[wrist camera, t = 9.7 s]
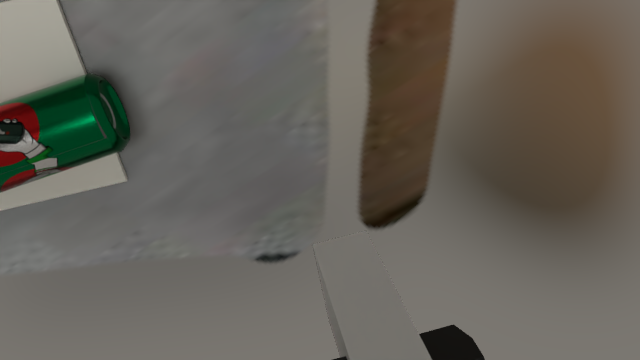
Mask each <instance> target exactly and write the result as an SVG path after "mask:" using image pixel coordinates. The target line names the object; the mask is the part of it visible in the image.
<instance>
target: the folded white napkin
mask: <svg viewBox="0 0 640 360" xmlns="http://www.w3.org/2000/svg"><path fill="white" fill-rule="evenodd" d="M84 74H87V72H86V69H85V67H84V64H83V62H82V59H81V57H80V54H79V51H78V49H77V46H76V44H75V41H74V39H73V36H72V34H71V31H70V28H69V26H68V23H67V21H66V18H65V16H64V13H63V10H62V8H61V5H60V3H59V0H8V1H3V2H0V103H2V102H5V101H7V100H10V99H13V98H16V97H19V96H22V95H25V94H28V93H31V92H34V91H37V90H40V89H43V88H46V87H49V86H52V85H55V84H58V83H61V82H64V81H67V80H70V79H73V78H76V77H79V76H82V75H84ZM127 179H128V177H127V175H126V172H125V170H124V167H123V165H122V162H121V159H120V157H119V154H118V153H115V154H112V155H109V156H106V157H103V158H101V159H98V160H95V161H92V162H89V163H86V164H83V165H80V166H77V167H74V168H71V169H68V170H65V171H63V172H60V173H57V174H54V175H51V176H48V177H45V178H42V179H39V180H36V181H33V182H30V183H28V184H25V185H22V186H19V187H16V188H13V189H10V190H7V191H4V192H1V193H0V211H2V210H6V209H10V208H15V207H19V206H23V205H27V204H32V203H36V202H40V201H44V200H49V199H53V198H57V197H62V196H66V195H70V194H74V193H79V192H83V191H87V190H91V189H96V188H100V187H104V186H109V185H113V184H117V183H121V182H126V181H127Z"/></svg>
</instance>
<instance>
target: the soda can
mask: <svg viewBox="0 0 640 360" xmlns="http://www.w3.org/2000/svg"><path fill="white" fill-rule="evenodd" d="M129 140H130V127H129V122H128V119H127V115H126V112H125V110H124V107H123V105H122V103H121V101H120V99H119V97H118V95H117V93H116V91H115V90H114V88H113V87H112V86H111V84H110V83H109V82H108V81H107V80H106V79H105V78H103V77H101V76H98V75H94V74H91V73H88V74H84V75H82V76H79V77H76V78H73V79H70V80H67V81H64V82H61V83H58V84H55V85H52V86H49V87H46V88H43V89H40V90H37V91H34V92H31V93H28V94H25V95H22V96H19V97H16V98H13V99H10V100H7V101H5V102H2V103H0V193H1V192H4V191H7V190H10V189H13V188H16V187H19V186H22V185H25V184H28V183H30V182H33V181H36V180H39V179H42V178H45V177H48V176H51V175H54V174H57V173H60V172H63V171H65V170H68V169H71V168H74V167H77V166H80V165H83V164H86V163H89V162H92V161H95V160H98V159H101V158H103V157H106V156H109V155H112V154H115V153H118V152H121V151H123V150H124V148H125V147H126V145H127V143H128V142H129Z"/></svg>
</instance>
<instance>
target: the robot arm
mask: <svg viewBox="0 0 640 360" xmlns="http://www.w3.org/2000/svg"><path fill="white" fill-rule="evenodd" d="M312 246H313V250H314V255H315V259H316V264H317V268H318V273H319V277H320V282H321V286H322V291H323V296H324V300H325V305H326V310H327V314H328V319H329V322H330V326H331V329H332V332H333V335H334V338H335V342H336V345H337V348H338V352H339V355H340V358H337V359H333V360H485V359H484V356H483V355H482V353H481V351H480V350H479V348H478V347H477V345H476V343H475V342H474V340H473V339H472V338H471V337H470V336H469V335H467V334H466V333H464V332H463V331H462V330H460V329H459V328H458V327H456V326H455V325H450V326H446V327H443V328H440V329H436V330H433V331H429V332H425V333H421V334H419V333H418V331H417V329H416V327H415V325H414V323H413V321H412V319H411V317H410V316H409V313H408V312H407V309H406V308H405V306H404V304H403V302H402V300H401V298H400V296H399V294H398V292H397V290H396V288H395V286H394V284H393V282H392V280H391V278H390V276H389V274H388V272H387V270H386V268H385V266H384V264H383V262H382V260H381V258H380V256H379V254H378V252H377V250H376V248H375V247H374V244H373V243H372V241H371V239H370V237H369V235H368V233H367V231H366V230H365V231H361V232H358V233H354V234H350V235H346V236H342V237H338V238H335V239H331V240H327V241H323V242H319V243H315V244H312Z"/></svg>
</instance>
